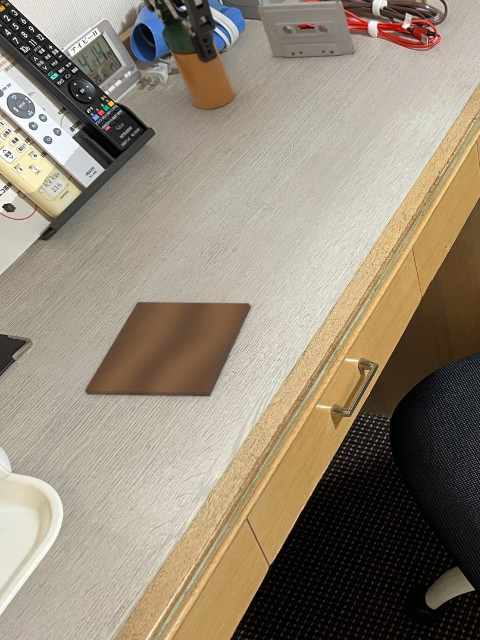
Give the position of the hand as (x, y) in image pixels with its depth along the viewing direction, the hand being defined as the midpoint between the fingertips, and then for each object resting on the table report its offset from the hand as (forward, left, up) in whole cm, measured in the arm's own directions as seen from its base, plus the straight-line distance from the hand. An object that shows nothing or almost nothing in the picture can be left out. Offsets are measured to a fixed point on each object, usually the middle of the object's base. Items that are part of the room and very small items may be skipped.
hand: (195, 52), depth 109 cm
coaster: (+13, -47, -7) cm, 49 cm away
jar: (0, 0, -7) cm, 7 cm away
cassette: (+11, +12, -7) cm, 18 cm away
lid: (0, 0, +3) cm, 3 cm away
